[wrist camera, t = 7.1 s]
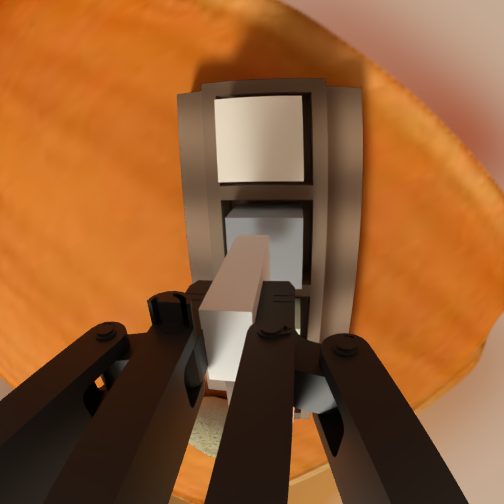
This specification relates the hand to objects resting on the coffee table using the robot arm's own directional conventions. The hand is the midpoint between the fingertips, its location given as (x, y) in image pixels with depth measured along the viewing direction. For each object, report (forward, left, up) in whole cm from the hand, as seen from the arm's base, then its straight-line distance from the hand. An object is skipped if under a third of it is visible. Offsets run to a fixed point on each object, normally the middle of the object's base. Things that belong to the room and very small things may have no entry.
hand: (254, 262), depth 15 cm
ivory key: (-6, 0, -4) cm, 7 cm away
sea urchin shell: (+23, -6, -9) cm, 26 cm away
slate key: (0, 0, -5) cm, 5 cm away
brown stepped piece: (+3, 0, -9) cm, 10 cm away
